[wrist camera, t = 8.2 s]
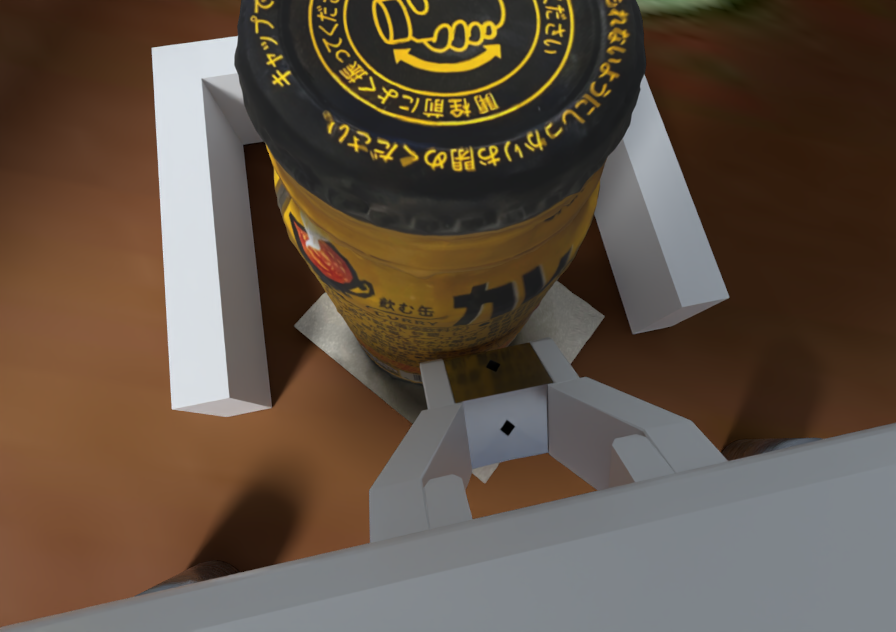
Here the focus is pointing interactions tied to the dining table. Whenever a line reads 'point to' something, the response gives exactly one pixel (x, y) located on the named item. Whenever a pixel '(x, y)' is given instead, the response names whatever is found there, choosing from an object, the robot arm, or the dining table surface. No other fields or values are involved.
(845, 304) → the dining table surface
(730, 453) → the cylinder
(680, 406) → the dining table surface
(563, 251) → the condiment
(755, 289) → the dining table surface
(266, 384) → the holder
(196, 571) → the cylinder
